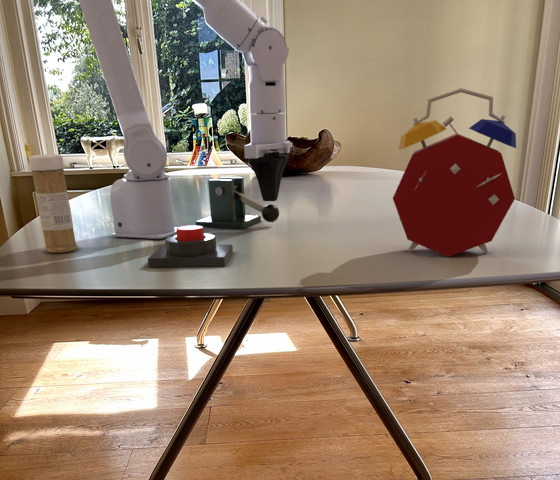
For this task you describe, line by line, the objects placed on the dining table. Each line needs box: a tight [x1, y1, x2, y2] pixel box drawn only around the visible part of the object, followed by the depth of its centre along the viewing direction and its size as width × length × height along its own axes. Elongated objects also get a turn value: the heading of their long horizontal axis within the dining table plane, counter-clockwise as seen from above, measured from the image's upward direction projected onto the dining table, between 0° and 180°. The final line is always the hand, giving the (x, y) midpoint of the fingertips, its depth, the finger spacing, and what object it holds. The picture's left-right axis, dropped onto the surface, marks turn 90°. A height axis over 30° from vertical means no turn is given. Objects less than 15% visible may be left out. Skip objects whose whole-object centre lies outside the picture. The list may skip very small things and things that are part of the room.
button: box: [175, 224, 205, 241], centre depth 79 cm, size 4×4×2 cm
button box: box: [147, 233, 234, 268], centre depth 80 cm, size 10×8×3 cm
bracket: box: [195, 176, 262, 230], centre depth 105 cm, size 9×8×8 cm
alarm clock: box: [392, 87, 517, 258], centre depth 75 cm, size 15×9×20 cm, turn 76°
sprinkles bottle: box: [27, 153, 78, 254], centre depth 86 cm, size 5×5×14 cm
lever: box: [222, 179, 280, 223], centre depth 103 cm, size 12×3×3 cm, turn 68°
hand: (270, 200), depth 102 cm, fingers closed
